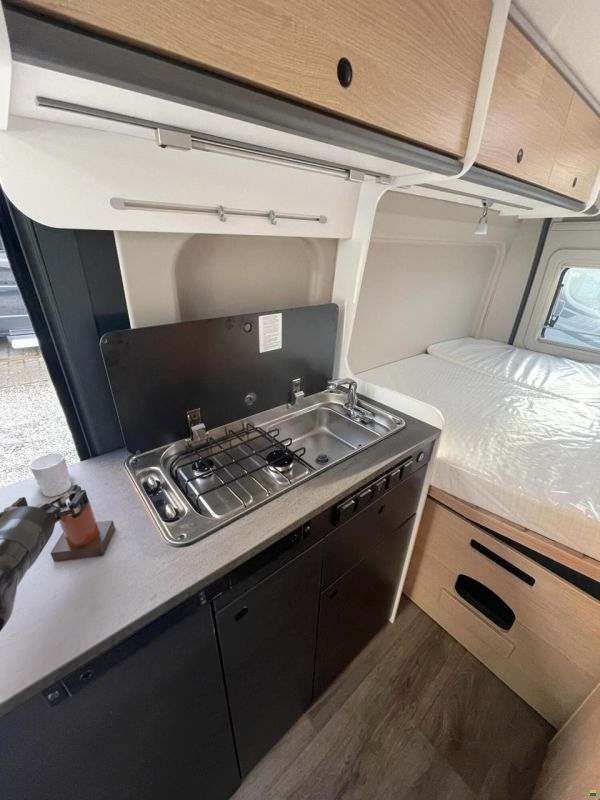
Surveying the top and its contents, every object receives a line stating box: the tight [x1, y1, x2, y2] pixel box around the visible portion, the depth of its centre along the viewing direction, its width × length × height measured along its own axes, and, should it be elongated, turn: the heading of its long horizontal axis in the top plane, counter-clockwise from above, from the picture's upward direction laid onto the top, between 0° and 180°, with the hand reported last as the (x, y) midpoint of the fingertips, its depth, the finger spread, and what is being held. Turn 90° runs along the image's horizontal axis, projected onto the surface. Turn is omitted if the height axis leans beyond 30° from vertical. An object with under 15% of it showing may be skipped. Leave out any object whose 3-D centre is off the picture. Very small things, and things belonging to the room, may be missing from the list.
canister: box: [56, 498, 99, 547], centre depth 73 cm, size 6×6×9 cm
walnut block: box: [50, 520, 116, 563], centre depth 76 cm, size 10×8×4 cm
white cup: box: [28, 452, 72, 498], centre depth 93 cm, size 8×8×10 cm
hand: (51, 495), depth 62 cm, fingers open, 8 cm apart
